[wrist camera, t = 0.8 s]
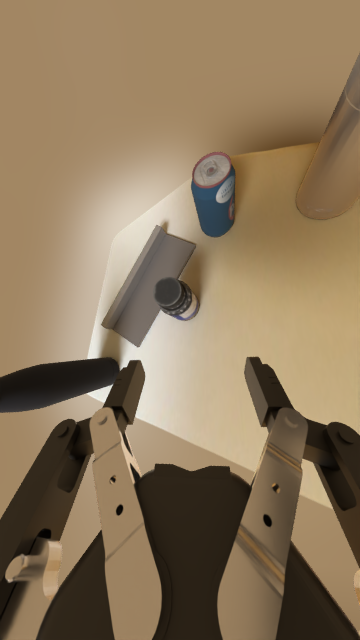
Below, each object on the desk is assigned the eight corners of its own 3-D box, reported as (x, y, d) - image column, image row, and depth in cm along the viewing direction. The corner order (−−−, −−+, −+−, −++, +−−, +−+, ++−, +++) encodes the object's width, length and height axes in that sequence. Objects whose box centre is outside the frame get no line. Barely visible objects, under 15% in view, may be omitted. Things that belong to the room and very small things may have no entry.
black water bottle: (110, 351, 39) (-219, 370, 10) (124, 373, 37) (-234, 468, 8) (92, 369, 39) (-258, 432, 11) (106, 391, 37) (-281, 535, 9)
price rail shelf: (161, 233, 39) (155, 224, 36) (195, 246, 36) (193, 238, 33) (109, 325, 40) (100, 324, 37) (139, 347, 37) (131, 347, 34)
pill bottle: (167, 307, 36) (141, 292, 26) (186, 287, 35) (168, 263, 25) (184, 327, 34) (164, 319, 24) (205, 307, 33) (194, 290, 23)
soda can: (239, 229, 34) (243, 171, 22) (208, 245, 35) (197, 198, 24) (226, 205, 35) (224, 139, 24) (197, 221, 37) (182, 166, 26)
